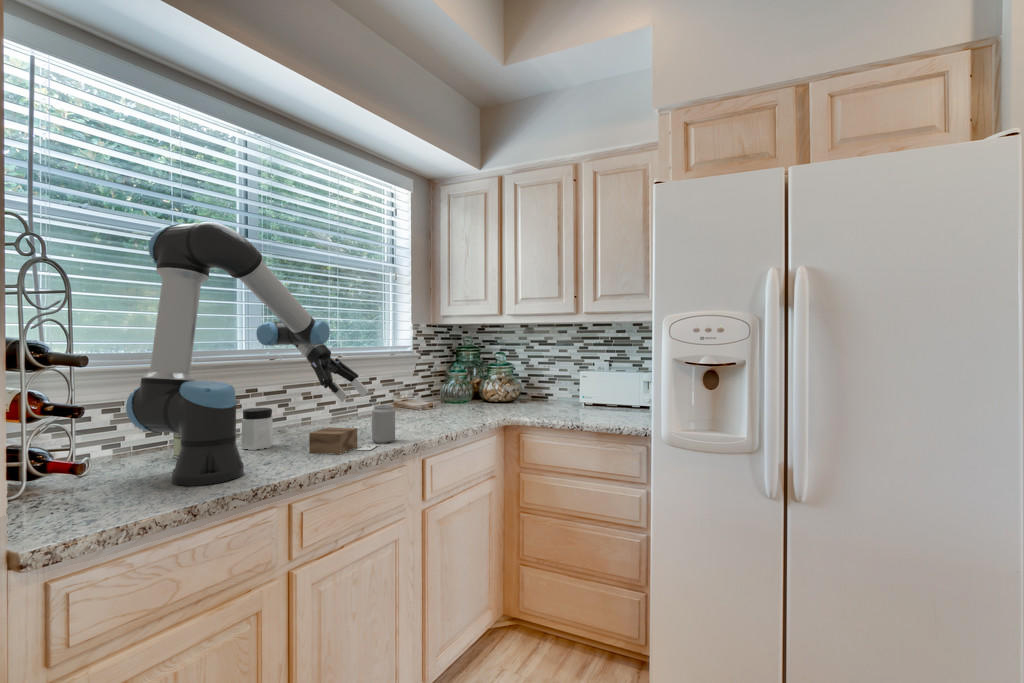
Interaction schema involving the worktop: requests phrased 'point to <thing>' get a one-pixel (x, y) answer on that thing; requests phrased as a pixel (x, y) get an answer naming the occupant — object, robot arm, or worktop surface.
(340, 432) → the walnut block
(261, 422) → the jar
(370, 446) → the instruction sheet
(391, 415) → the can
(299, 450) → the worktop surface
